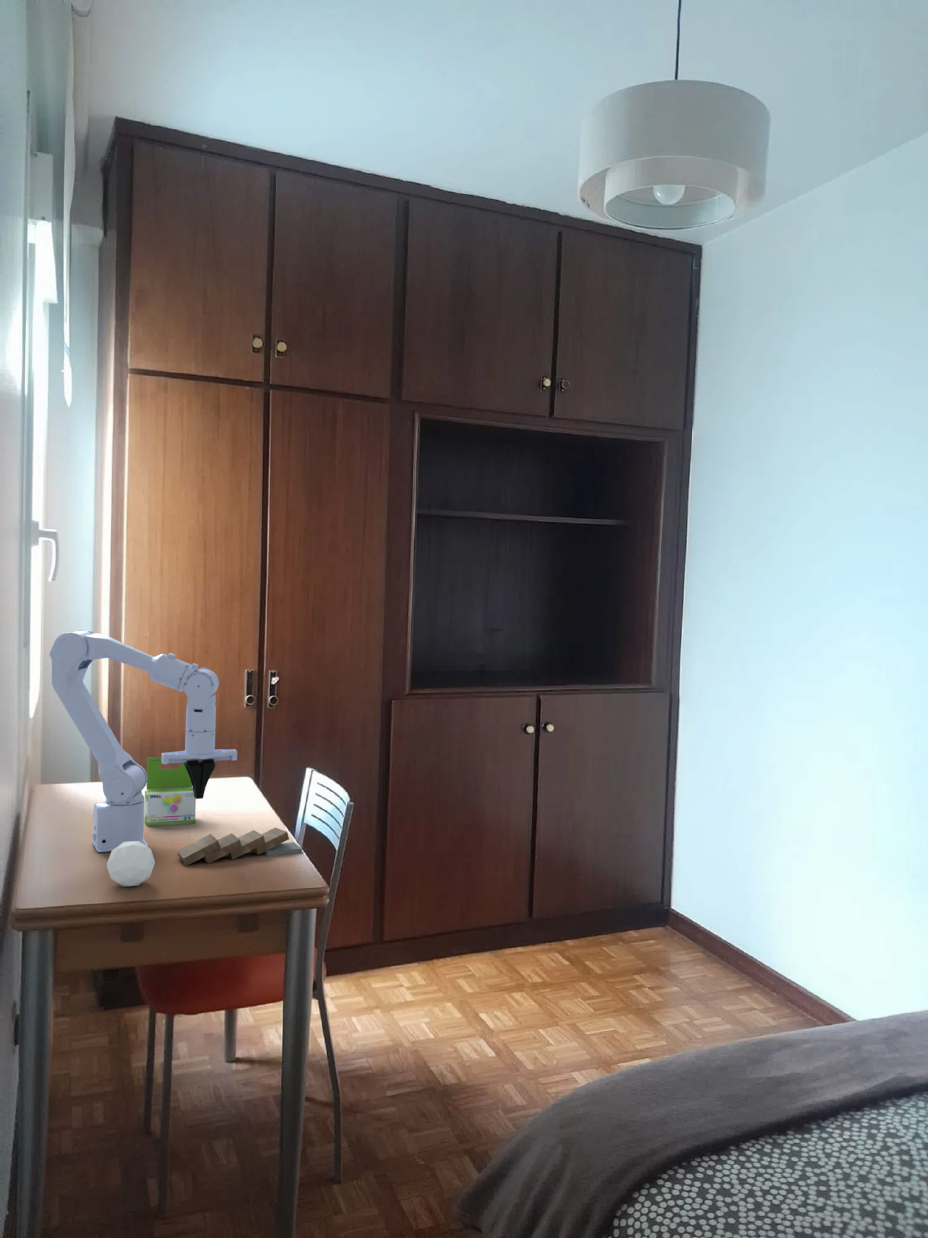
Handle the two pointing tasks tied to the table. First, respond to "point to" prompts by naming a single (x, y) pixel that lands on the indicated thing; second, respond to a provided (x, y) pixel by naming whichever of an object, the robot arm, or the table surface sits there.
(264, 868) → the table surface
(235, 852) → the domino
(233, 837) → the domino
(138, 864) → the geometric ball
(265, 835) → the domino
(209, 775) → the robot arm
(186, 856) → the domino
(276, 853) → the domino
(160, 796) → the ink box
